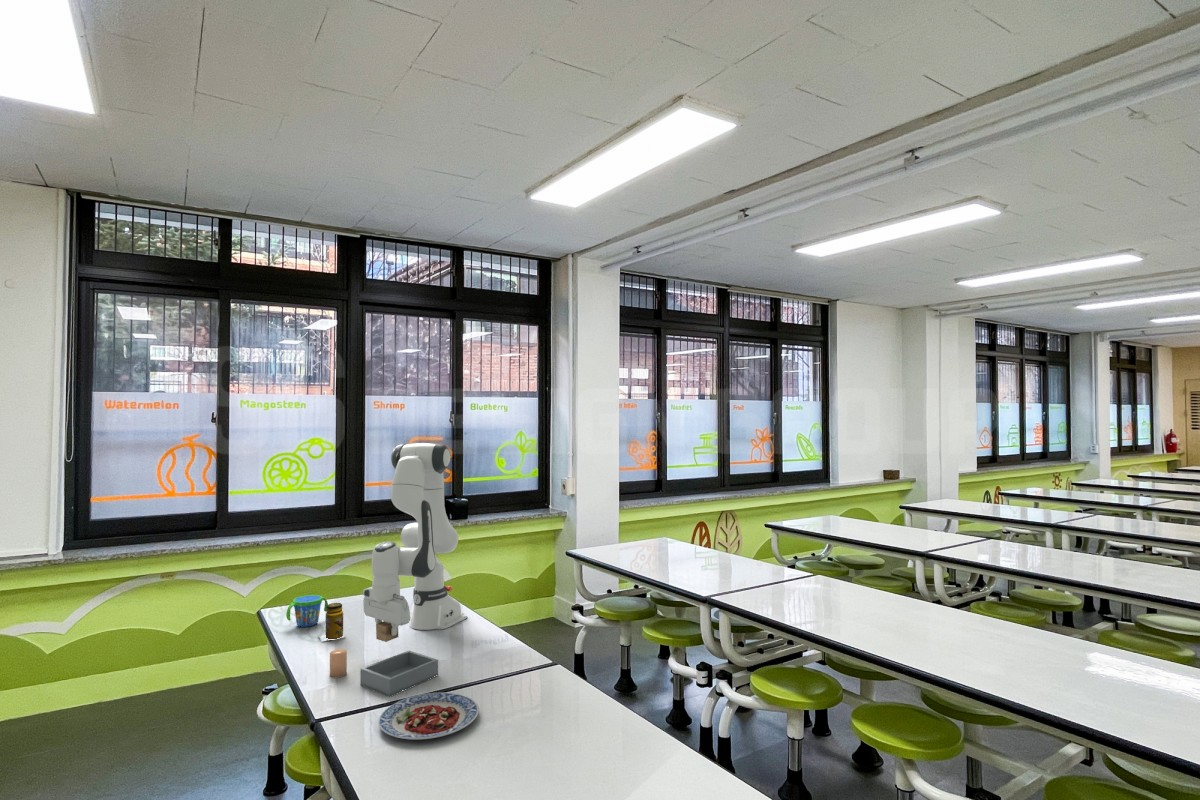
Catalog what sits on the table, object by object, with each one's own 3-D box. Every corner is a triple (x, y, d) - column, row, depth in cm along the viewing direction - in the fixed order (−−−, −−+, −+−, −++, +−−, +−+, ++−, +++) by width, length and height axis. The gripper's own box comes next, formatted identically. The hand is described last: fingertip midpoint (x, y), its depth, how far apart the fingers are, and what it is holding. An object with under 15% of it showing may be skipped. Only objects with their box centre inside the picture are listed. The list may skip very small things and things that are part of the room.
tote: (409, 665, 209) (409, 650, 209) (438, 675, 201) (438, 659, 201) (360, 685, 194) (360, 668, 194) (389, 696, 186) (389, 679, 186)
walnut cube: (388, 634, 219) (388, 619, 218) (398, 637, 216) (398, 622, 216) (376, 638, 214) (376, 624, 214) (385, 642, 212) (385, 626, 212)
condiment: (346, 638, 235) (346, 605, 235) (321, 643, 230) (321, 609, 230) (341, 632, 241) (341, 600, 241) (317, 637, 236) (317, 604, 236)
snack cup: (322, 617, 259) (322, 591, 259) (333, 623, 252) (333, 597, 252) (281, 626, 248) (281, 599, 248) (291, 632, 241) (291, 605, 241)
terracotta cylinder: (340, 669, 206) (340, 647, 206) (350, 673, 203) (350, 651, 203) (326, 675, 202) (326, 652, 202) (335, 679, 199) (335, 656, 199)
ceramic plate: (495, 707, 179) (495, 697, 179) (444, 754, 155) (444, 742, 155) (417, 694, 188) (417, 684, 188) (356, 737, 163) (357, 725, 164)
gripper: (414, 594, 212) (415, 636, 212) (375, 584, 223) (376, 624, 223) (398, 599, 206) (399, 642, 207) (359, 589, 218) (360, 630, 218)
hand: (387, 633), depth 215 cm, fingers closed on walnut cube, 5 cm apart
